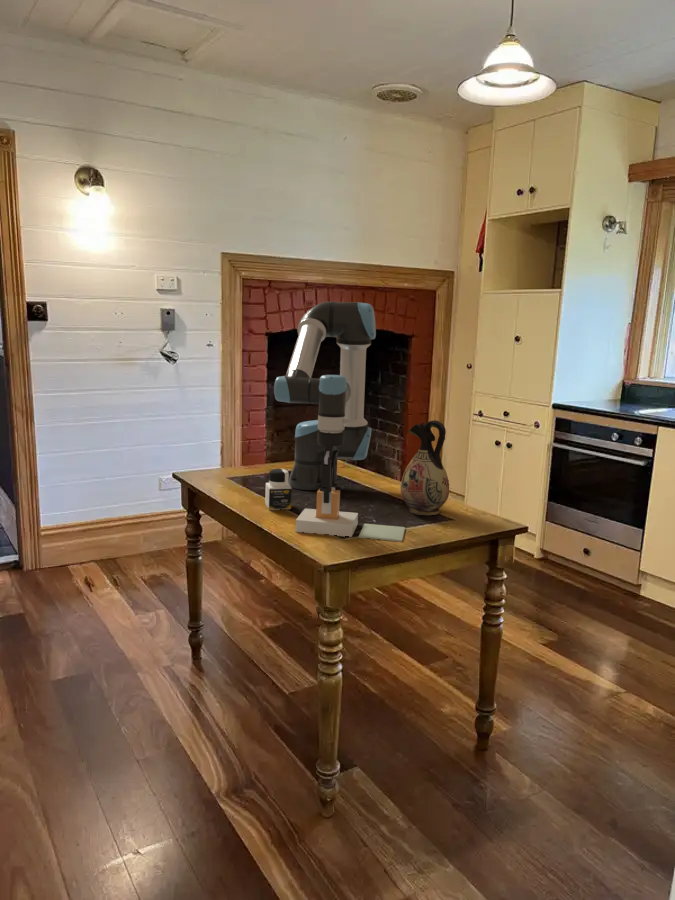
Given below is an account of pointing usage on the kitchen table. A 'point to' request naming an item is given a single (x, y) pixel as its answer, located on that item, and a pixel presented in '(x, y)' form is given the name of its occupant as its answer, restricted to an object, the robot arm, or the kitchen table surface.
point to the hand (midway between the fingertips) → (327, 510)
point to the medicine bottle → (278, 490)
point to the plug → (335, 505)
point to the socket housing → (327, 523)
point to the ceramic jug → (426, 473)
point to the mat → (382, 532)
